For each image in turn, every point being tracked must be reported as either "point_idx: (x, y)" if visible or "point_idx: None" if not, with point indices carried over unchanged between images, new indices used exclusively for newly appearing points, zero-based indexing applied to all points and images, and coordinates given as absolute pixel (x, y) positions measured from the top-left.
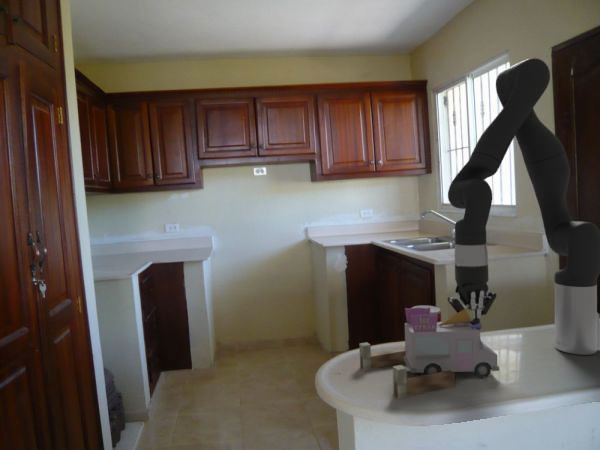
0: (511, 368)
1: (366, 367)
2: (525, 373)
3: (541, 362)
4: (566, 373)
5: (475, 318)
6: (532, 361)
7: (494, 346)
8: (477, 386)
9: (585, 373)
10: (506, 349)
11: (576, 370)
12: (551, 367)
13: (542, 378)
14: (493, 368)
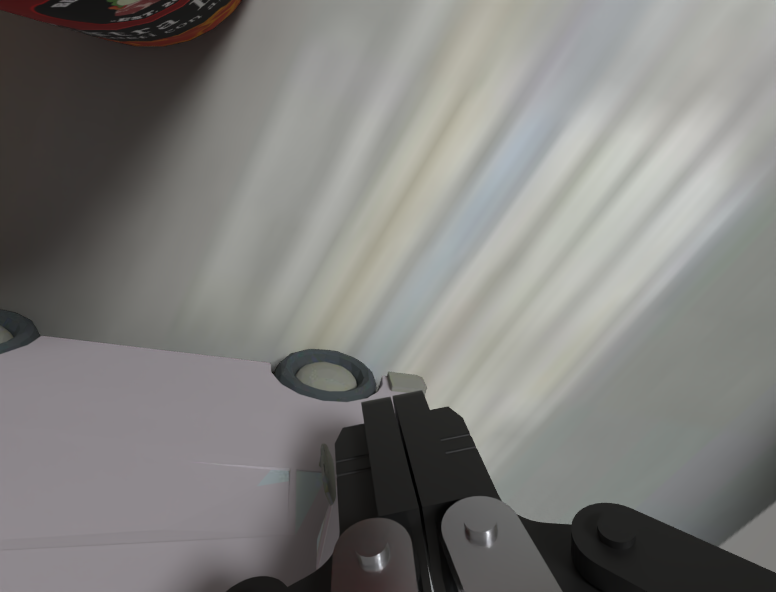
0: (516, 404)
1: None
2: (532, 464)
3: (709, 362)
4: (688, 485)
5: (444, 580)
6: (683, 342)
7: (699, 37)
8: None
9: (751, 494)
10: (719, 125)
11: (752, 465)
12: (694, 423)
13: (558, 515)
14: None
